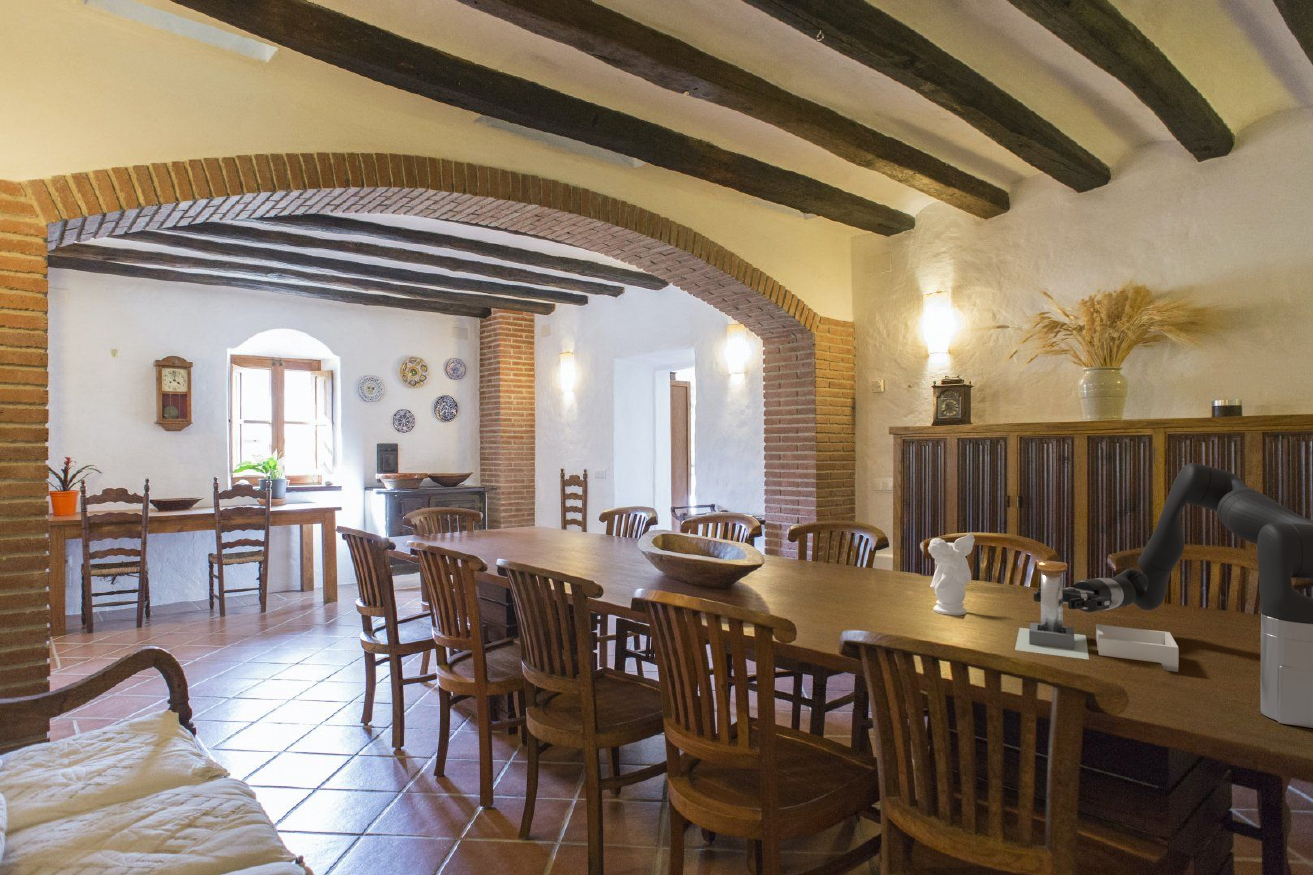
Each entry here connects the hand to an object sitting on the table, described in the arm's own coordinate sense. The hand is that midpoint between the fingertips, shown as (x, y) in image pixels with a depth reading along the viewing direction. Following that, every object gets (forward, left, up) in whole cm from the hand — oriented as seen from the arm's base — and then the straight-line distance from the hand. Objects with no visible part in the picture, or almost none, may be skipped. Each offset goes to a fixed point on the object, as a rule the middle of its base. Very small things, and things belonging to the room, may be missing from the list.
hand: (1052, 600), depth 168 cm
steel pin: (0, 0, -9) cm, 9 cm away
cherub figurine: (+29, +25, -11) cm, 40 cm away
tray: (+1, -16, -11) cm, 19 cm away
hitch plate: (0, 0, -11) cm, 11 cm away
